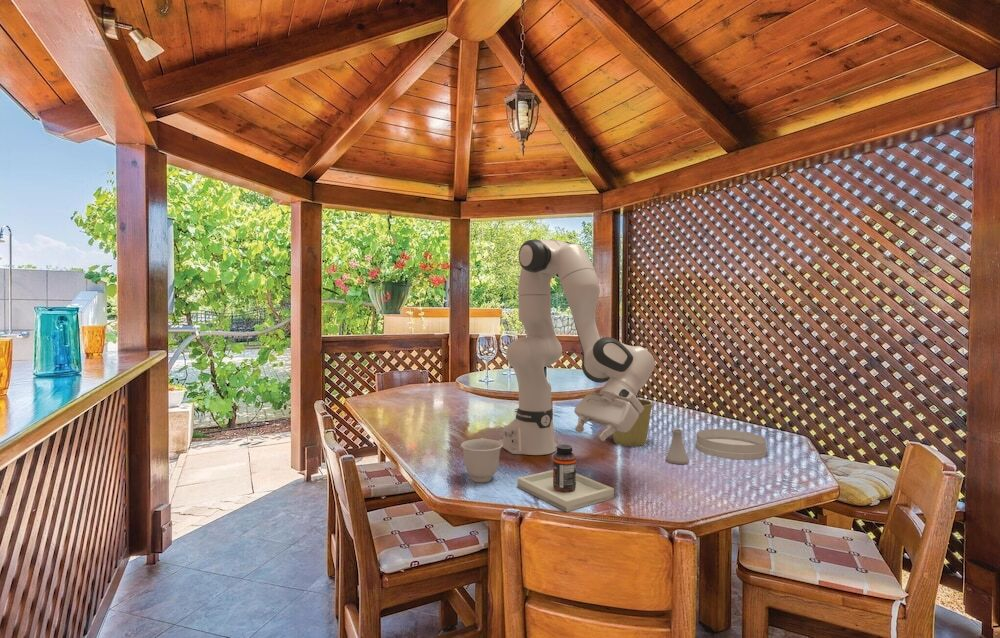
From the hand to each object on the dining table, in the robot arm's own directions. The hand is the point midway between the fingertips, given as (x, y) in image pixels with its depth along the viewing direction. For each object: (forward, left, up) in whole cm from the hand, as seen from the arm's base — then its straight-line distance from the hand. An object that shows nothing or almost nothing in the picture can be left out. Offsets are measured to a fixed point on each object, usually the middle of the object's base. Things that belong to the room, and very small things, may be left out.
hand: (588, 435), depth 137 cm
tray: (0, -8, -14) cm, 16 cm away
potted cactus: (-25, +45, -14) cm, 53 cm away
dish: (+1, +66, -15) cm, 67 cm away
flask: (-1, +40, -14) cm, 42 cm away
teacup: (-22, -20, -14) cm, 33 cm away
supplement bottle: (0, -8, -13) cm, 16 cm away
